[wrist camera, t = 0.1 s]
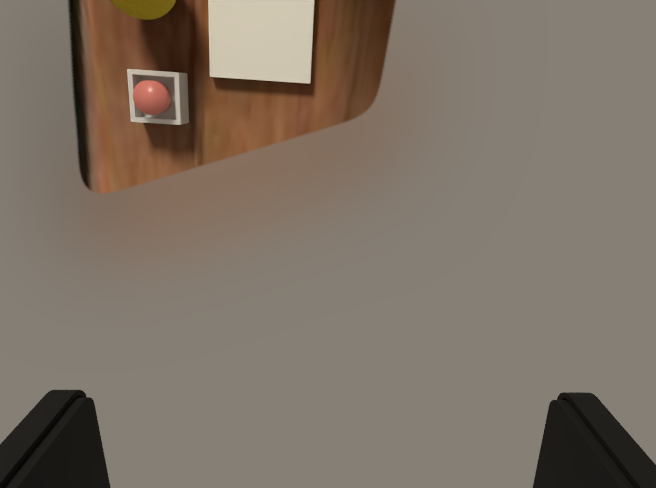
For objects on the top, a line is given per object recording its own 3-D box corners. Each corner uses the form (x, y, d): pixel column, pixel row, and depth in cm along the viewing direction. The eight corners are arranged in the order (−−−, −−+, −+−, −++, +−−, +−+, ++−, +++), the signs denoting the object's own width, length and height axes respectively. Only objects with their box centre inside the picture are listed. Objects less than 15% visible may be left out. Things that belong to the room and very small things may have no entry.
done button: (139, 79, 40) (131, 79, 38) (171, 81, 40) (165, 81, 39) (141, 112, 41) (134, 113, 39) (172, 114, 41) (166, 115, 39)
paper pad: (210, -36, 39) (207, -39, 38) (315, -28, 39) (315, -31, 38) (212, 76, 42) (209, 76, 41) (310, 83, 42) (310, 83, 41)
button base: (138, 69, 42) (127, 68, 39) (187, 73, 42) (178, 72, 39) (142, 119, 43) (131, 121, 41) (189, 122, 43) (180, 124, 41)
